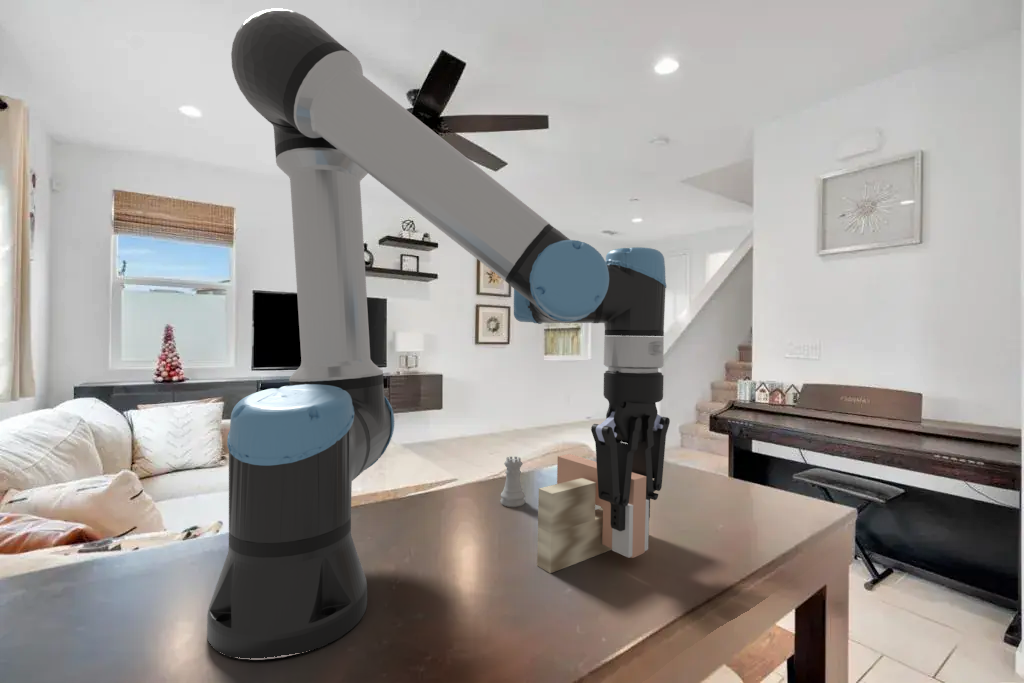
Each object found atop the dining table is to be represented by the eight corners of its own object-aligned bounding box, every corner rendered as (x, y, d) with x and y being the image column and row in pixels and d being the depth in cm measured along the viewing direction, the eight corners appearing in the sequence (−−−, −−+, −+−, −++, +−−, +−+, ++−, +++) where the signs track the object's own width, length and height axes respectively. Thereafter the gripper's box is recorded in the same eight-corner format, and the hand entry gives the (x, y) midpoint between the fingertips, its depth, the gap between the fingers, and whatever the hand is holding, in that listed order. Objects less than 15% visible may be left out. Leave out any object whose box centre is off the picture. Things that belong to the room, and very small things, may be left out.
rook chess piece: (530, 502, 88) (530, 457, 88) (516, 509, 84) (517, 462, 84) (508, 497, 90) (509, 453, 90) (494, 504, 86) (495, 458, 86)
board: (550, 573, 62) (551, 493, 62) (537, 565, 64) (538, 488, 64) (649, 535, 74) (650, 468, 74) (635, 529, 76) (636, 465, 76)
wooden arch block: (644, 552, 64) (646, 476, 64) (632, 558, 63) (634, 479, 63) (568, 519, 75) (569, 453, 75) (556, 523, 74) (557, 456, 74)
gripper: (616, 374, 56) (612, 579, 57) (693, 369, 66) (689, 544, 67) (569, 370, 62) (566, 555, 63) (646, 366, 72) (643, 527, 72)
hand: (630, 549), depth 65 cm, fingers closed on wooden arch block, 2 cm apart
